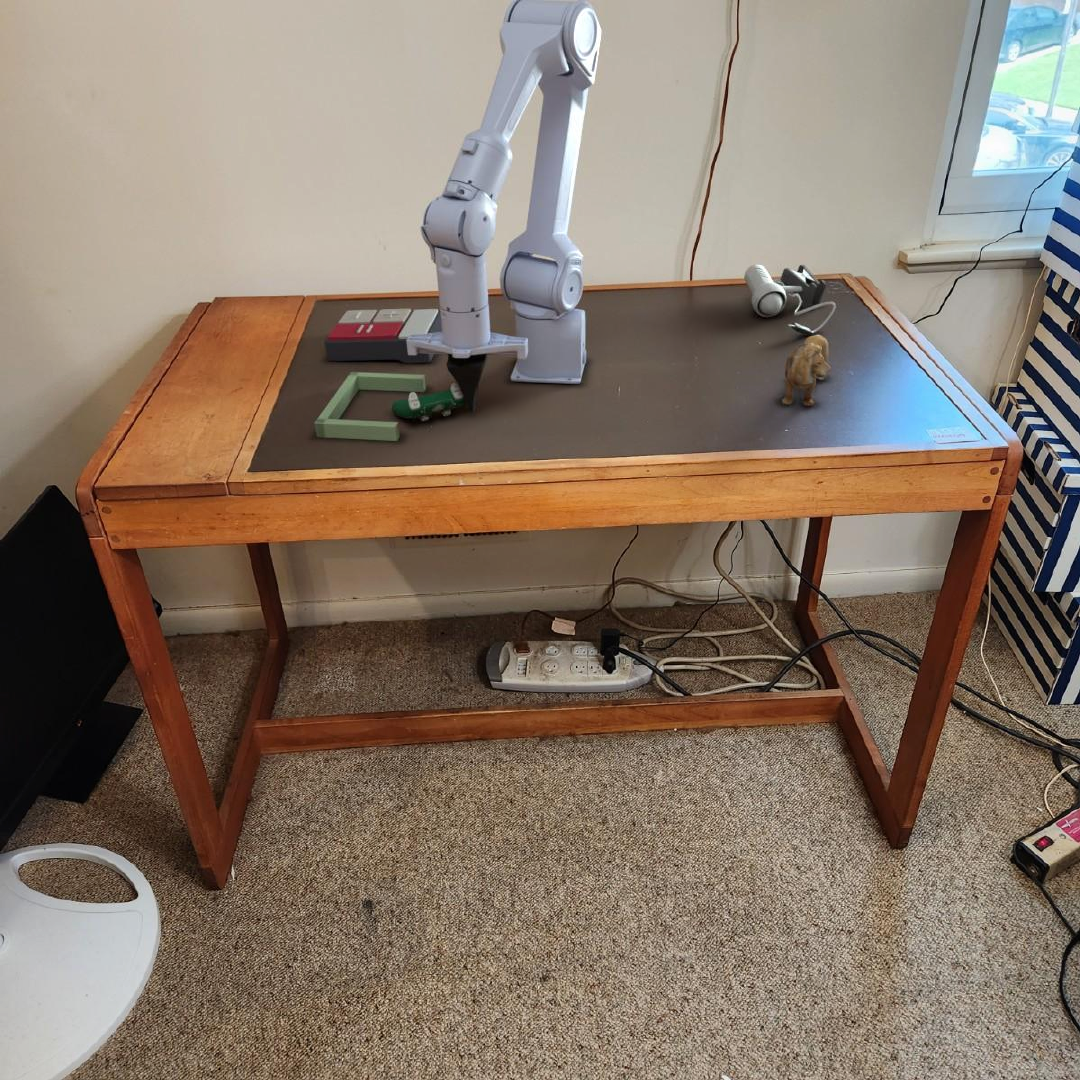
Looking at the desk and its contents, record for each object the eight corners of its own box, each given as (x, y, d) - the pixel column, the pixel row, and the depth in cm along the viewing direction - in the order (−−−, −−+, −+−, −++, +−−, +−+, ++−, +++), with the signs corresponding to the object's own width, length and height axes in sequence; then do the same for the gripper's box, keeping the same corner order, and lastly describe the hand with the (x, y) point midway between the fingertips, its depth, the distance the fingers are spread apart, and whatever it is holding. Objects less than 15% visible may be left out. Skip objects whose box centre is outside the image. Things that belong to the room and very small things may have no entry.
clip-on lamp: (841, 351, 134) (801, 284, 145) (857, 315, 129) (814, 249, 141) (767, 351, 132) (732, 283, 143) (780, 314, 127) (743, 247, 139)
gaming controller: (398, 433, 114) (405, 418, 109) (388, 405, 114) (395, 388, 109) (465, 416, 117) (475, 401, 112) (456, 390, 118) (465, 373, 112)
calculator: (344, 307, 135) (441, 304, 133) (350, 334, 137) (445, 332, 135) (321, 337, 126) (425, 334, 124) (328, 365, 128) (430, 363, 126)
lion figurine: (821, 421, 110) (833, 353, 105) (777, 416, 112) (787, 349, 106) (827, 371, 122) (839, 307, 116) (787, 367, 123) (797, 304, 118)
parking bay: (426, 388, 120) (424, 374, 119) (397, 441, 109) (395, 426, 108) (353, 385, 122) (351, 371, 120) (317, 437, 110) (314, 422, 109)
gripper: (395, 315, 103) (408, 420, 111) (519, 318, 101) (524, 425, 109) (410, 292, 108) (422, 394, 116) (529, 296, 106) (532, 399, 114)
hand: (472, 407), depth 113 cm, fingers closed
